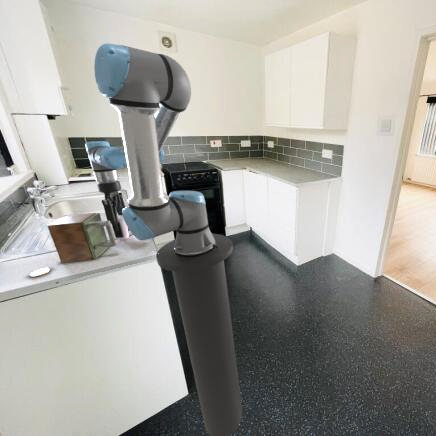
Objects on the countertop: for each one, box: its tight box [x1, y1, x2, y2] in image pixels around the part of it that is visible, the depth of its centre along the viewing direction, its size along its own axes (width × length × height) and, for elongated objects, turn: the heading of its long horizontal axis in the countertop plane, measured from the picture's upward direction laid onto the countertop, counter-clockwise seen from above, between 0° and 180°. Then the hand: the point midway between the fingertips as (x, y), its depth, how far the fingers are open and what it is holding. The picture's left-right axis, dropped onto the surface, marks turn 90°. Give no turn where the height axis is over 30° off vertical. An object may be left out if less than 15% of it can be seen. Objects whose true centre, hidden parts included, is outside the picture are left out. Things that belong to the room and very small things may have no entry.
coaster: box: [29, 267, 51, 278], centre depth 83 cm, size 5×5×1 cm
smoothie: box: [117, 213, 130, 241], centre depth 104 cm, size 6×6×14 cm
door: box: [82, 212, 118, 260], centre depth 95 cm, size 8×11×15 cm
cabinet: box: [46, 212, 97, 264], centre depth 93 cm, size 10×11×15 cm
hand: (122, 234), depth 106 cm, fingers closed on smoothie, 6 cm apart
